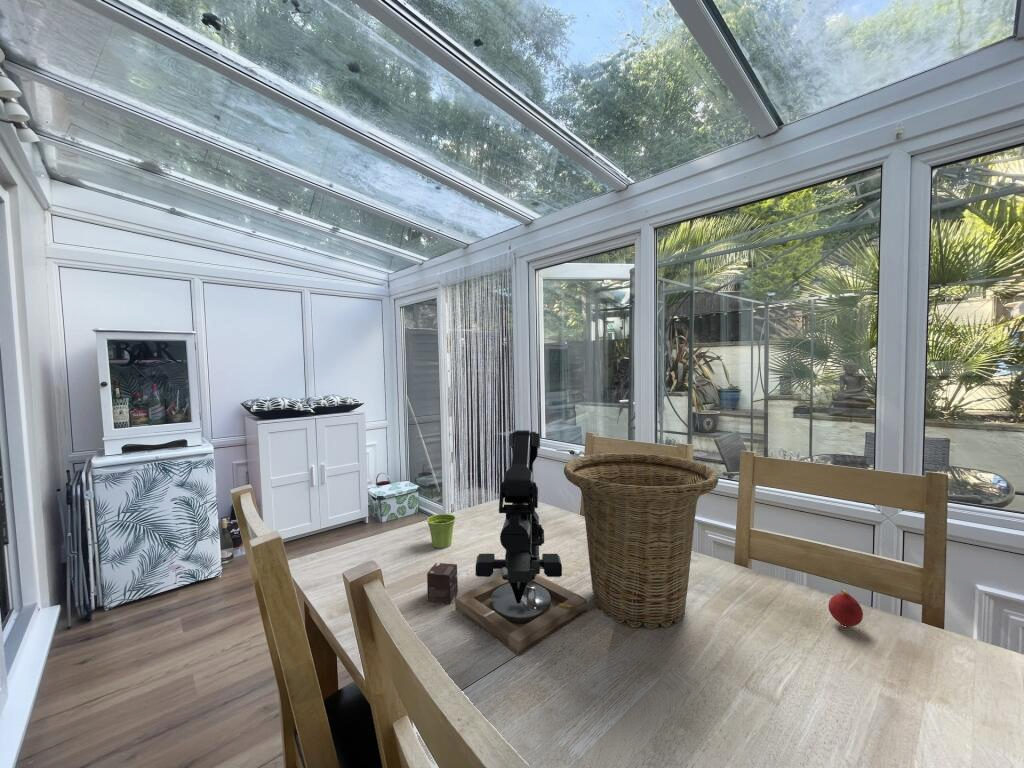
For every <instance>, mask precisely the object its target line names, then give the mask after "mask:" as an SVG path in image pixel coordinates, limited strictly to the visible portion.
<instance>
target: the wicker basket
mask: <svg viewBox="0 0 1024 768" xmlns="http://www.w3.org/2000/svg"><path fill="white" fill-rule="evenodd" d="M563 473H564V476H565V478H566V480H567V481H569V482H570V483H571V484H573V486H576V487H578V488H579V489H580V492H581V496H582V502H583V512H584V513H583V514H584V521H585V533H586V542H587V551H588V560H589V561H588V562H589V571H590V581H591V588H592V595H593V601H594V604H595V606H596V608H598V609H600V610H601V612H602V614H603V615H605V617H610V616H611V617H612V619H613V620H614V621H615V622H616V623H619V624H622V623H624V622H625V621H626V623H627V624H628V625H629V626H630V627H632V628H635V627H636V628H639V627H641V626H642V624H643V625H644V626H645V628H646V629H649V630H654V629H656V628H657V627H658V626H659V625H660V626H661V627H662V628H669V627H670V626H671V625H672V623H673V622H674V623H677V622H678V623H679V622H680V620H682V617H683V616H685V611H686V605H687V604H686V603H687V596H688V589H689V588H688V587H689V579H690V572H691V571H690V570H691V562H692V561H691V559H692V550H693V540H694V531H695V520H696V513H697V512H696V511H697V504H698V501H699V498H700V496H703V495H705V494H708V493H709V492H712V491H713V490H715V488H716V487H718V484H719V475H718V473H717V471H716V470H715V469H714V468H712V467H710V466H709V465H706V464H704V463H702V462H698V461H695V460H691V459H687V458H682V457H677V456H670V455H663V454H653V453H642V452H641V453H640V452H609V453H598V454H597V453H596V454H595V453H594V454H588V455H583V456H579V457H575V458H573V459H570V460H569V461H567V462H566V464H565V465H564V468H563ZM678 623H677V624H678Z"/></svg>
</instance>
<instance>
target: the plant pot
mask: <svg viewBox="0 0 1024 768" xmlns="http://www.w3.org/2000/svg"><path fill="white" fill-rule="evenodd" d="M456 519H457V518H456V515H453V514H450V513H449V514H448V513H439V514H434V515H430V516H429V517H427V518H426V522H427V525H428V528H429V532H430V533H429V534H430V537H431V538H430V539H431V544H432V545H431V546H432V547H433V548H437V549H444V548H448V547H449V546H451V545H452V543H453V542H452V541H453V540H452V539H453V531H454V524H455V521H456Z"/></svg>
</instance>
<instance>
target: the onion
mask: <svg viewBox="0 0 1024 768" xmlns="http://www.w3.org/2000/svg"><path fill="white" fill-rule="evenodd" d="M840 592H841V593H836V594H834V595H833V596H832V597H830V599H829V601H828V605H827V606H828V607H827V608H828V611H829V613H830V615H831V616H832V617H833V619H834V620H836V622H838V623H839V624H840V626H842V625H843V626H846V627H847V628H852V627H856V626H857V625H859V624H860V623H861V622H862V620H863V617H864V612H863V608H862V607H861V605H860V603H859V602H858V601H857V599H855V598H854V597H853V596H852V595H851V594H849V593H848V591H846V590H844V589H841V590H840ZM843 626H842V627H843ZM846 627H845V628H846Z"/></svg>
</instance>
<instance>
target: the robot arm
mask: <svg viewBox="0 0 1024 768" xmlns="http://www.w3.org/2000/svg"><path fill="white" fill-rule="evenodd" d="M508 447H509V448H510V449H511V450H512V457H511V458H512V459H511V464H510V465H511V466H510V468H508V469H507V470H506V471H505V472H504V476H503V477H504V478H503V481H500V487H499V490H500V491H499V499H498V501H499V502H498V514H505V520H504V522H503V526H502V529H501V532H500V535H499V540H500V544H501V546H502V548H503V549H505V555H504V557H505V558H504V559H503V558H502V559H501V558H500V559H499V558H498V559H495V556H496V555H495V553H479V554H478V555H477V556H476V561H475V576H476V577H477V578H480V577H481V578H486V577H487V578H489V577H491V576H493V574H494V570H501V572H502V574H501V575H502V576H501V577H502V579H503V580H507V581H508V582H509V583H510V585H511V587H512V590H513V593H514V596H515V599H516V602H517V604H520V602H521V599H522V596H523V593H524V590H525V587H526V585H527V583H528V582H530V580H534V579H535V576H536V574H537V575H540V574H541V570H543V573H544V575H545V576H546V577H547V578H561V577H562V576H563V566H562V561H561V560H562V559H561V556H560V554H558V553H542V555H541V558H540V547H542V546H543V545H544V544H545V529H544V528H543V525H542V524H540V516H539V514H538V513H537V511H536V509H538V507H539V506H538V505H539V487H538V486H537V483H536V481H534V465H533V464H534V463H535V461H536V459H537V457H538V453H539V449H541V435H540V433H537V431H532V430H530V429H529V430H528V429H526V430H525V429H524V430H522V429H519V430H515V431H513V432H511V433H509V434H508ZM504 503H505V504H504ZM517 582H519V589H518V583H517Z"/></svg>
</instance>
